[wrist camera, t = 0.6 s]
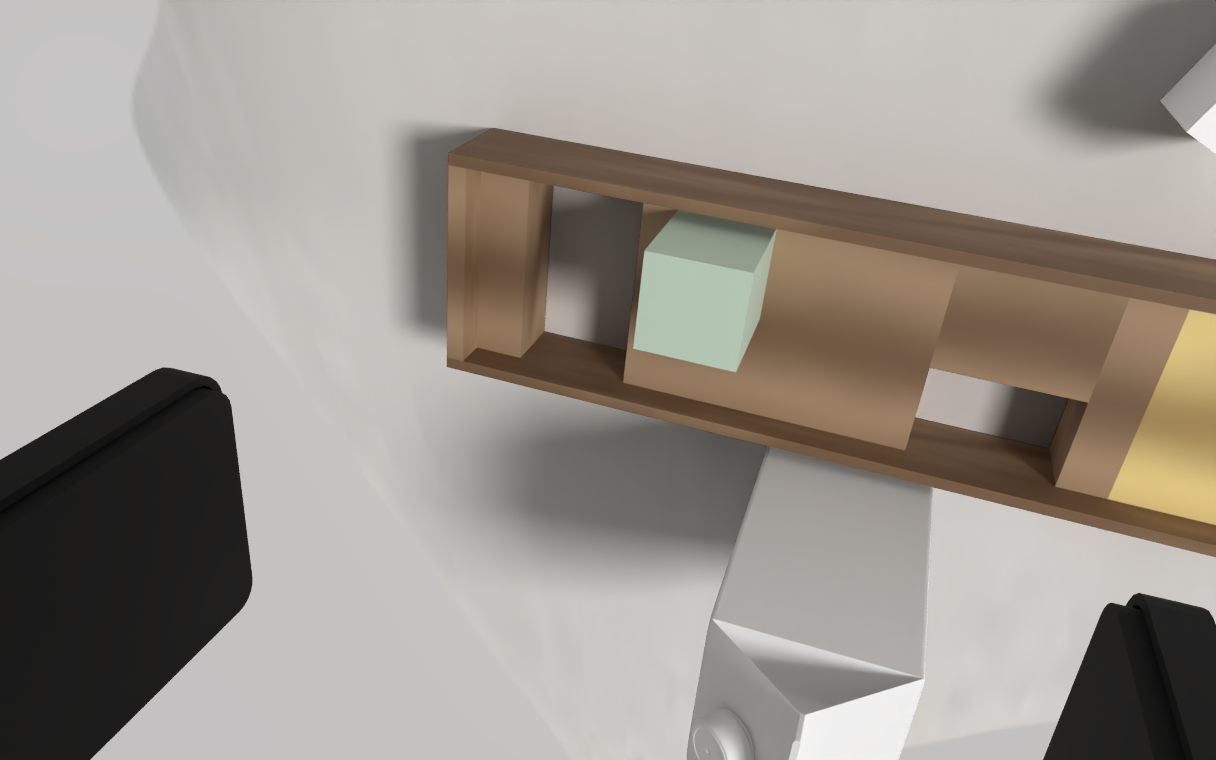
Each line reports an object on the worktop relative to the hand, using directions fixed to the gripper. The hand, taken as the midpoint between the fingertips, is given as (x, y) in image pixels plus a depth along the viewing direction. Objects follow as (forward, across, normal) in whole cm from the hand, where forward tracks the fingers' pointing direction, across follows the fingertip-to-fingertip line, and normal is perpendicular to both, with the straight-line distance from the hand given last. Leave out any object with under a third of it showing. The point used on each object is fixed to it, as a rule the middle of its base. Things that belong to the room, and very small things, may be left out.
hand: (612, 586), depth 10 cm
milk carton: (+33, -3, +18) cm, 37 cm away
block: (+29, +4, +7) cm, 30 cm away
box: (+32, -2, +9) cm, 33 cm away
